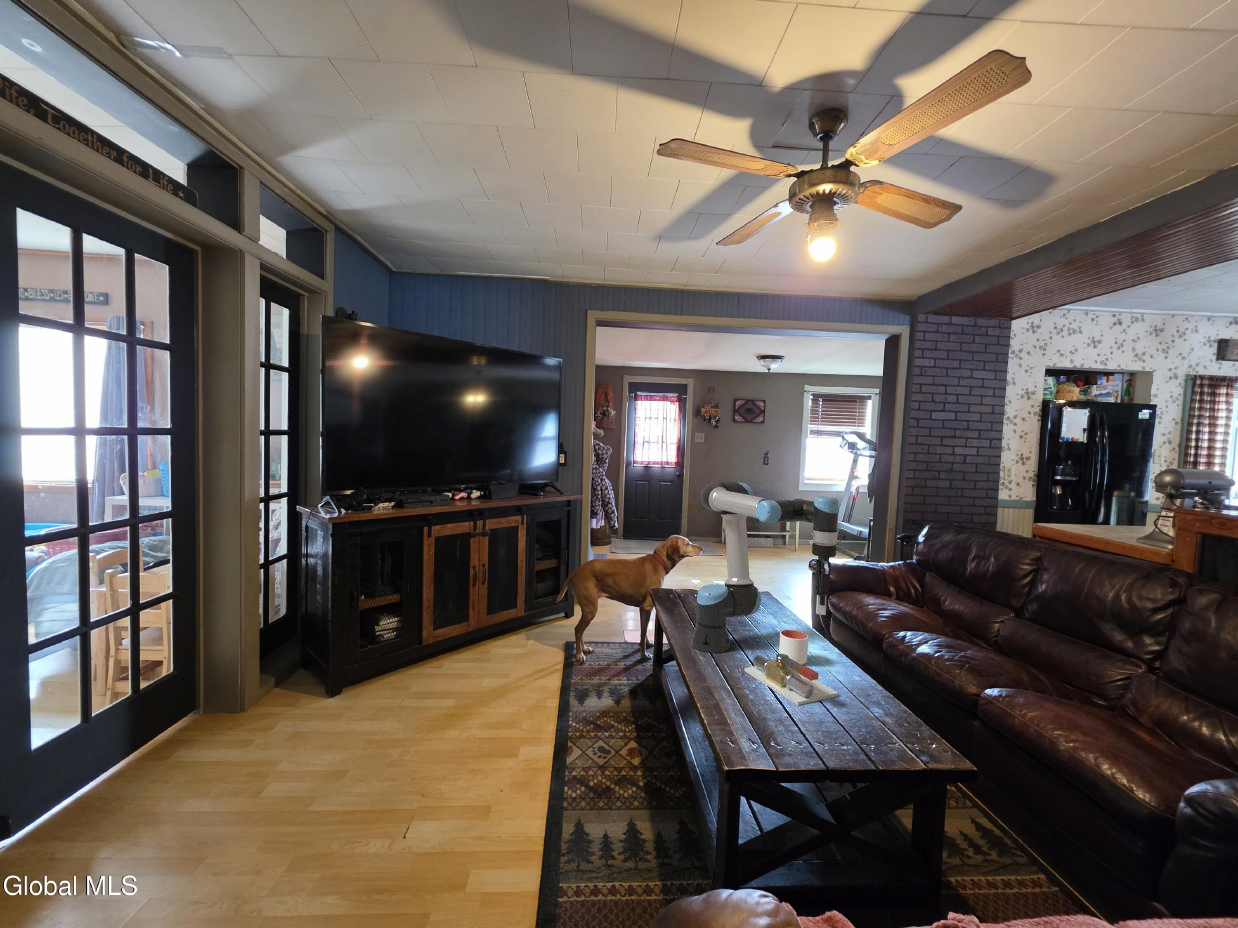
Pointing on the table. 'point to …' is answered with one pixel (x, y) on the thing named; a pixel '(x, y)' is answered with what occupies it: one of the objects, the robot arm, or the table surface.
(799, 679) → the valve
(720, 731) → the table surface
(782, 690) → the board
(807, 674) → the lever
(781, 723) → the table surface
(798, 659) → the cup
